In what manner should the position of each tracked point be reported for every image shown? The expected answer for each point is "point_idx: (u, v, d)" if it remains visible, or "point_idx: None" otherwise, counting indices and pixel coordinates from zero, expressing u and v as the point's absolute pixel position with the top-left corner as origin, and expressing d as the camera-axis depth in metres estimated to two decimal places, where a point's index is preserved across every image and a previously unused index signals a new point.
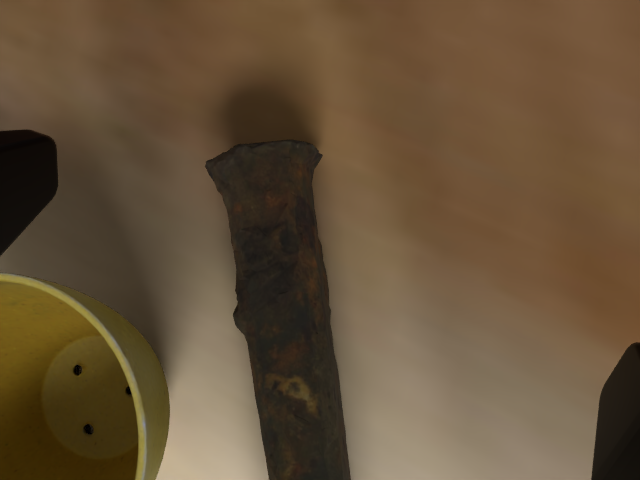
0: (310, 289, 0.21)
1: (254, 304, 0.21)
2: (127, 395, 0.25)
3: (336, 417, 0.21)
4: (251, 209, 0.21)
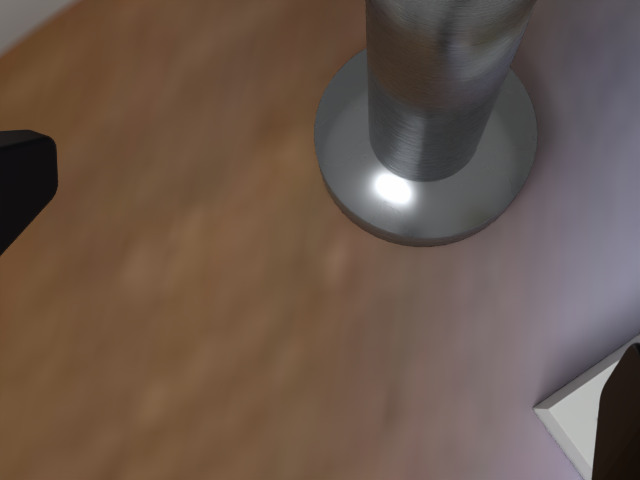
0: None
1: None
2: None
3: None
4: None
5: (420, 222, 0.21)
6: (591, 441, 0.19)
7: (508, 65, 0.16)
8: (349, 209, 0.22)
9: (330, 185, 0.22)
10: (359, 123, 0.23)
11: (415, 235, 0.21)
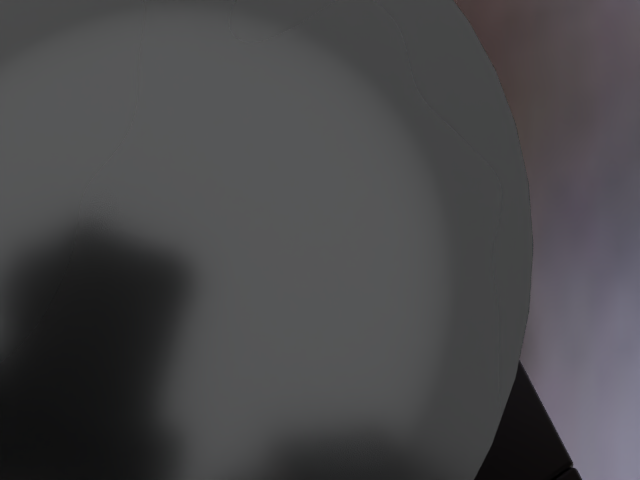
0: None
1: None
2: None
3: None
4: None
5: None
6: None
7: None
8: None
9: None
10: None
11: None
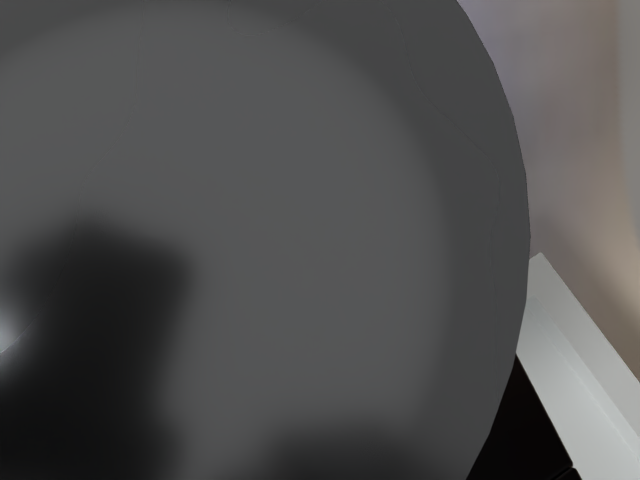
0: None
1: None
2: None
3: None
4: None
5: None
6: None
7: None
8: None
9: None
10: None
11: None
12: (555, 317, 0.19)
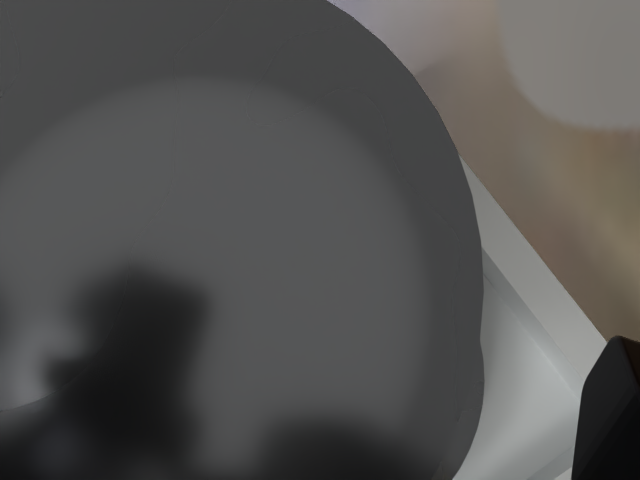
0: None
1: None
2: None
3: None
4: None
5: None
6: None
7: None
8: None
9: None
10: None
11: None
12: None
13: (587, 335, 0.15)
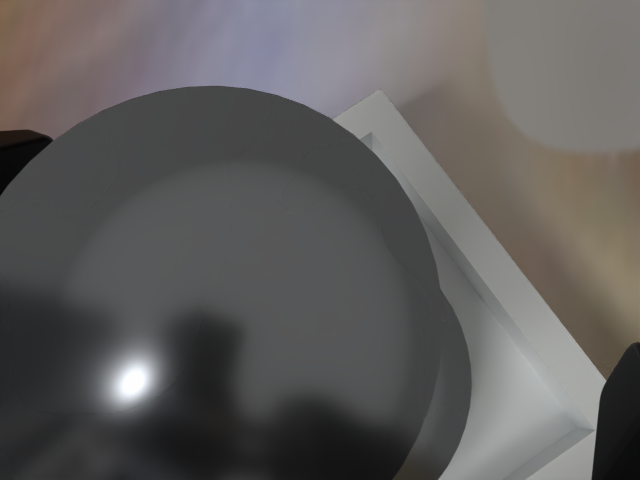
0: None
1: None
2: None
3: None
4: None
5: None
6: None
7: None
8: None
9: None
10: None
11: None
12: (392, 152, 0.18)
13: (564, 343, 0.16)
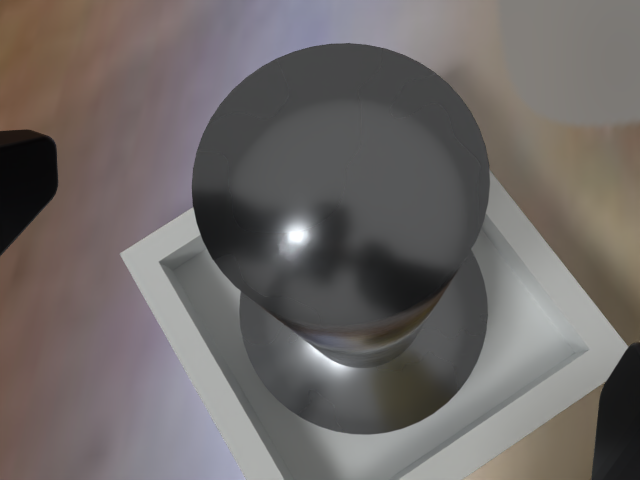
0: None
1: None
2: None
3: None
4: None
5: (353, 416, 0.19)
6: (151, 280, 0.21)
7: (428, 316, 0.13)
8: (275, 397, 0.19)
9: (255, 368, 0.20)
10: None
11: (347, 432, 0.19)
12: None
13: (565, 280, 0.19)
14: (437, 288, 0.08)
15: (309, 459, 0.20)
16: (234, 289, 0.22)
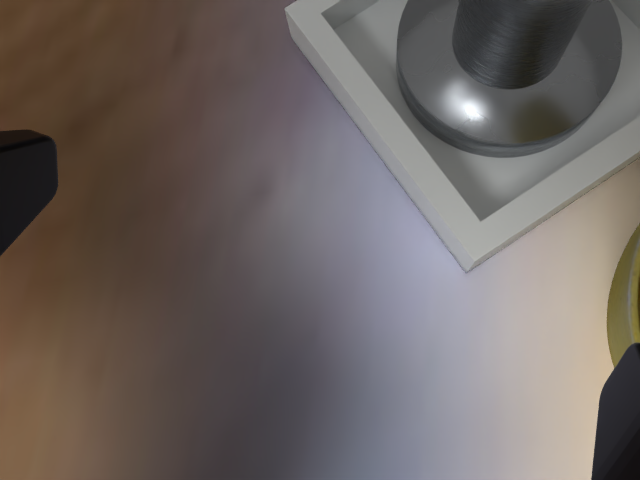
0: None
1: None
2: None
3: None
4: None
5: (507, 128, 0.22)
6: (315, 28, 0.23)
7: None
8: (434, 117, 0.22)
9: (415, 94, 0.22)
10: (442, 34, 0.23)
11: (502, 140, 0.21)
12: None
13: None
14: None
15: (459, 181, 0.23)
16: (381, 48, 0.24)
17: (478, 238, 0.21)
